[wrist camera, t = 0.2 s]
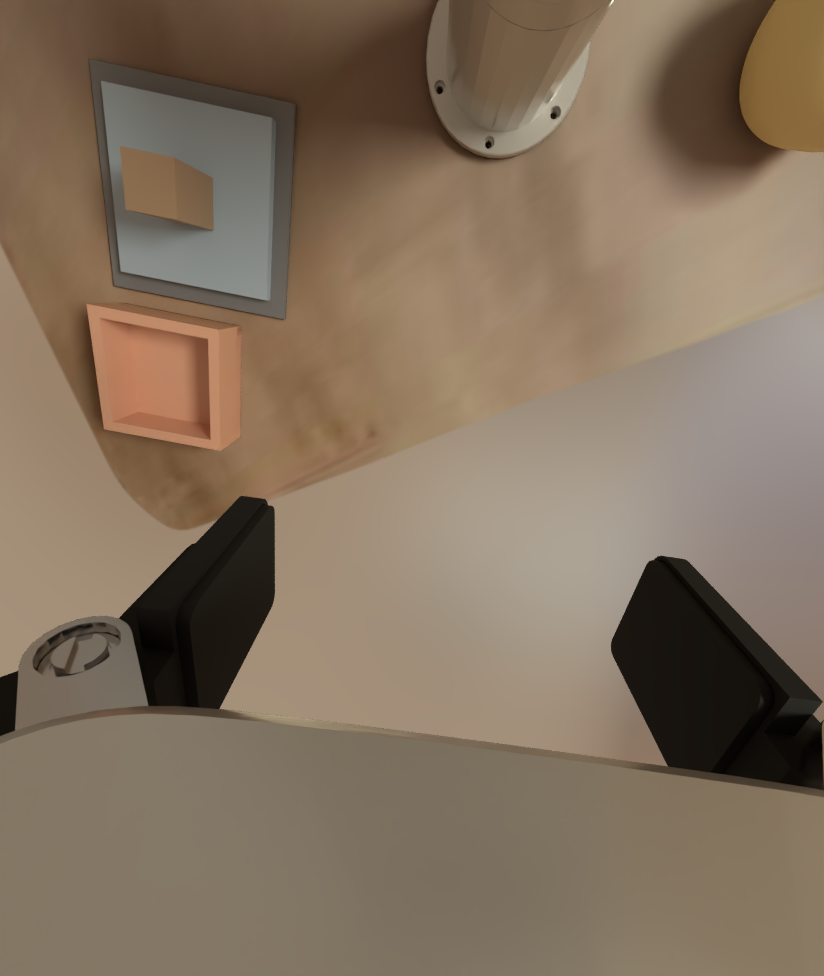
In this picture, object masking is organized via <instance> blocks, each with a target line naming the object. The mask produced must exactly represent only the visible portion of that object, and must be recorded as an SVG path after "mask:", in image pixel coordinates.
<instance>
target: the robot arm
mask: <svg viewBox="0 0 824 976" xmlns="http://www.w3.org/2000/svg"><path fill="white" fill-rule="evenodd" d="M613 2H614V0H438V2H437V5H436V8H435V10H434V13H433V16H432V20H431V24H430V29H429V34H428V40H427V53H426V70H427V79H428V86H429V93H430V96H431V99H432V103H433V106H434V109H435V111H436V113H437V115H438V117H439V119H440V121H441V123H442V125H443V126H444V128H445V129H446V130H447V132H448V133H449V134H450V136H451V137H452V138H453V139H454V140H455V141H456V142H457V143H459V144H460V145H461V146H462V147H463V148H465V149H467V150H469V151H470V152H472V153H474V154H476V155H480V156H483V157H487V158H508V157H513V156H517V155H520V154H522V153H524V152H527V151H529V150H531V149H533V148H534V147H535V146H537V145H538V144H540V143H541V142H543V141H544V140H545V139H546V138H547V137H548V136H549V135H550V134H551V133H552V132H553V131H554V130H555V129H556V128H557V127H558V125H559V124H560V123H561V122H562V120H563V119H564V118H565V116H566V114H567V113H568V111H569V110H570V108H571V106H572V105H573V103H574V101H575V99H576V97H577V95H578V92H579V90H580V88H581V85H582V83H583V79H584V76H585V72H586V68H587V65H588V59H589V51H590V43H591V37H592V36H593V34H594V33H595V31H596V29H597V28H598V26H599V24H600V23H601V21H602V20H603V18H604V16H605V15H606V13H607V12H608V10H609V8H610V7H611V5H612V3H613ZM438 88H441V89H442V90H443V92H442V94H437V92H436V91H437V89H438ZM552 113H554V114H555V116H556V118H555V119H552V118H551V117H550V114H552ZM487 142H489V143H490V144H491V147H490V148H488V149H487V148H486V147H485V144H486V143H487ZM274 518H275V516H274V507H273V506H268V504H267V501H266V500H265V499H260V498H253V497H246V496H241V497H239V498H238V499H237V500H236V501H235V502H234V504H233V505H232V506H231V507H230V508H229V509H228V510H227V511H226V512H225V513H224V514H223V515H222V516H221V517H220V518H219V519H218V520H217V521H216V522H215V523H214V524H213V526H212V527H211V528H210V529H209V530H208V531H207V532H206V533H205V534H204V535H203V536H202V537H201V538H200V539H199V540H198V541H197V543H195V544H192V545H190V546H189V547H188V548H186V550H185V551H184V552H183V553H182V554H181V555H180V556H179V557H178V558H177V559H176V560H175V561H174V562H173V563H172V564H171V565H170V566H169V567H168V568H167V569H166V570H165V571H164V572H163V573H162V574H161V575H160V576H159V577H158V578H157V579H156V580H155V581H154V583H153V584H152V585H151V586H150V587H149V588H148V589H147V590H146V591H145V592H144V593H143V594H142V595H141V596H140V597H139V598H138V599H137V600H136V601H135V602H134V603H133V604H132V605H131V606H130V607H129V608H128V609H127V610H126V611H125V612H124V613H123V615H122V616H121V617H120V618H114V617H109V616H92V617H87V618H82V619H77V620H74V621H71V622H68V623H65V624H63V625H60V626H58V627H56V628H54V629H52V630H51V631H49V632H47V633H45V634H43V635H42V636H41V637H40V638H38V639H37V640H36V641H35V642H33V643H32V644H31V645H30V646H29V648H28V649H27V650H26V651H25V652H24V654H23V655H22V658H21V661H20V664H19V670H18V671H17V672H14V673H11V674H8V675H5V676H3V677H0V976H824V720H823V721H822V722H821V723H820V722H819V721H818V720H817V719H816V718H815V716H814V715H813V713H814V712H815V710H816V709H817V708H818V707H819V706H820V705H821V703H822V701H821V699H820V698H819V697H818V696H817V695H816V694H815V693H814V692H813V691H812V690H811V689H810V688H809V687H808V686H807V685H806V684H805V683H804V682H803V681H802V680H801V679H800V678H799V676H797V674H796V673H795V672H794V671H793V670H792V669H791V668H790V667H789V666H788V665H787V664H786V663H785V662H784V661H783V660H782V659H781V658H780V657H779V656H778V655H777V654H776V652H775V651H774V650H773V649H772V648H771V647H770V646H769V645H768V644H767V643H766V642H765V641H764V640H763V639H762V638H761V637H760V636H759V635H758V634H757V633H756V632H755V631H754V630H753V629H752V628H751V626H750V625H749V624H748V623H747V622H745V620H744V619H743V618H742V617H741V616H740V615H739V614H738V613H737V612H736V611H735V610H734V609H733V608H732V607H731V606H730V605H729V604H728V602H727V601H725V599H724V598H723V597H722V596H721V595H720V594H719V593H718V592H717V591H716V590H715V589H714V588H713V587H712V586H711V585H710V584H709V583H708V582H707V581H706V580H705V578H704V577H703V576H702V575H701V574H700V573H699V572H698V571H697V570H696V569H695V568H694V567H693V566H692V565H691V564H690V563H689V562H688V561H687V560H685V559H679V558H673V557H666V556H659V557H657V558H655V559H654V561H653V560H652V561H649V562H648V564H647V565H646V567H645V569H644V572H643V573H642V576H641V578H640V580H639V582H638V584H637V587H636V589H635V591H634V593H633V595H632V598H631V600H630V602H629V604H628V606H627V608H626V611H625V613H624V615H623V617H622V620H621V621H620V624H619V626H618V628H617V630H616V632H615V635H614V637H613V639H612V642H611V651H612V654H613V657H614V659H615V661H616V663H617V665H618V667H619V669H620V671H621V673H622V675H623V677H624V679H625V681H626V683H627V685H628V687H629V689H630V691H631V693H632V695H633V697H634V699H635V701H636V703H637V705H638V707H639V709H640V711H641V713H642V715H643V717H644V719H645V721H646V723H647V725H648V727H649V729H650V731H651V733H652V735H653V737H654V739H655V741H656V743H657V745H658V747H659V749H660V751H661V753H662V755H663V757H664V759H665V761H666V763H667V765H668V767H666V766H660V765H652V764H645V763H639V762H630V761H624V760H616V759H610V758H603V757H595V756H587V755H581V754H573V753H565V752H558V751H551V750H543V749H536V748H529V747H521V746H514V745H506V744H499V743H491V742H484V741H476V740H469V739H461V738H454V737H446V736H439V735H431V734H423V733H414V732H407V731H399V730H391V729H384V728H376V727H367V726H360V725H352V724H344V723H337V722H329V721H321V720H314V719H305V718H296V717H287V716H278V715H269V714H260V713H251V712H242V711H233V710H224V709H219V708H220V706H221V704H222V703H223V700H224V699H225V696H226V695H227V693H228V691H229V689H230V687H231V685H232V683H233V681H234V679H235V677H236V675H237V673H238V671H239V669H240V668H241V666H242V664H243V662H244V660H245V658H246V656H247V654H248V652H249V650H250V648H251V646H252V644H253V642H254V640H255V638H256V636H257V635H258V633H259V631H260V629H261V627H262V625H263V623H264V621H265V619H266V617H267V615H268V613H269V611H270V609H271V607H272V604H273V601H274V595H275V552H274V551H275V546H274V545H275V544H274V543H275V533H274V532H275V531H274V530H275V527H274V526H275V523H274V522H275V521H274V520H275V519H274Z"/></svg>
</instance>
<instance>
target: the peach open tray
mask: <svg viewBox="0 0 824 976" xmlns="http://www.w3.org/2000/svg"><path fill="white" fill-rule="evenodd" d="M87 311H88V318H89V325H90V332H91V339H92V347H93V354H94V361H95V368H96V375H97V382H98V390H99V397H100V404H101V411H102V418H103V425H104V429H106V430H111V431H116V432H122V433H127V434H133V435H138V436H143V437H149V438H154V439H159V440H165V441H170V442H176V443H181V444H186V445H192V446H197V447H202V448H208V449H213V450H219V451H221V450H222V449H224V448H225V447H226V446H228V445H229V444H230V443H232V442H233V441H235V440H236V439H237V438H239V437H240V436H241V326H239V325H234V324H229V323H223V322H218V321H213V320H208V319H203V318H198V317H193V316H188V315H183V314H178V313H173V312H168V311H163V310H158V309H152V308H147V307H142V306H137V305H132V304H127V303H99V304H87Z"/></svg>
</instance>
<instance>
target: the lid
mask: <svg viewBox="0 0 824 976" xmlns="http://www.w3.org/2000/svg"><path fill="white" fill-rule="evenodd" d="M101 86H102V96H103V105H104V115H105V125H106V134H107V144H108V153H109V163H110V173H111V182H112V192H113V202H114V211H115V221H116V230H117V240H118V250H119V259H120V269H121V272H126V273H131V274H136V275H141V276H146V277H151V278H156V279H161V280H166V281H171V282H176V283H181V284H186V285H191V286H196V287H201V288H206V289H211V290H216V291H221V292H226V293H231V294H236V295H241V296H246V297H251V298H256V299H261V300H266V301H267V300H270V290H271V260H272V231H273V201H274V172H275V142H276V122H275V120H274V119H273V118H271V117H266V116H262V115H257V114H253V113H248V112H243V111H239V110H234V109H229V108H225V107H220V106H215V105H211V104H206V103H202V102H197V101H192V100H188V99H183V98H178V97H174V96H169V95H165V94H160V93H155V92H151V91H146V90H141V89H137V88H132V87H128V86H123V85H118V84H114V83H109V82H104V81H101Z"/></svg>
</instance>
